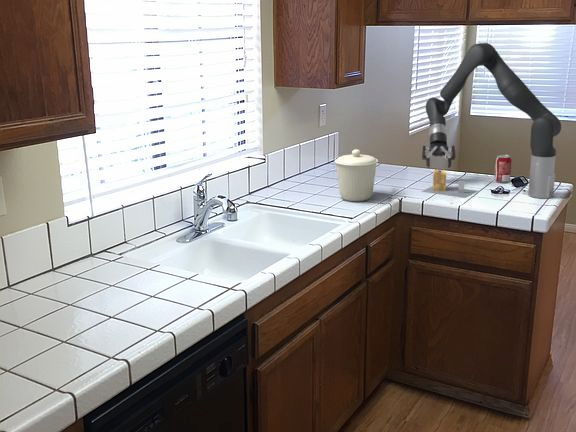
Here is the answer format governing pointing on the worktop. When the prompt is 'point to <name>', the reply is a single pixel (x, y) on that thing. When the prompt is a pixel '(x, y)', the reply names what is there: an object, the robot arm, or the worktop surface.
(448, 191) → the slate base plate
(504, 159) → the soda can
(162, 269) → the worktop surface
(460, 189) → the metal shaft
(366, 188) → the canister
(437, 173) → the ochre knob
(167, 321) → the worktop surface
